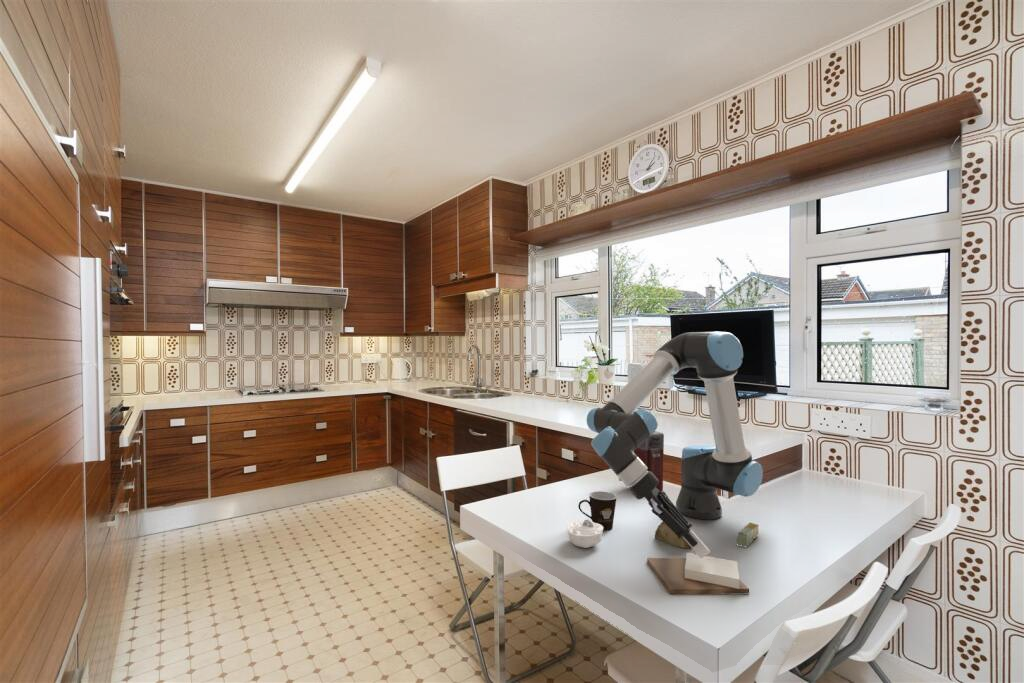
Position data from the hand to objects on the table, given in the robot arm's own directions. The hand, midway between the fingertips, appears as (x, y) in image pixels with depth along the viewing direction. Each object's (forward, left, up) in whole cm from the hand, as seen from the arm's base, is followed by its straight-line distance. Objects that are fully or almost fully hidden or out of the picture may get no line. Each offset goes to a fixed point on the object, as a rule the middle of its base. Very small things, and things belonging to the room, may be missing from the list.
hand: (705, 554), depth 118 cm
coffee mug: (+19, -34, -6) cm, 39 cm away
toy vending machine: (-11, -72, -6) cm, 73 cm away
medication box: (-24, -23, -6) cm, 34 cm away
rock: (-1, -22, -6) cm, 23 cm away
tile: (+4, -2, -4) cm, 6 cm away
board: (+2, -1, -6) cm, 6 cm away
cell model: (+26, -20, -6) cm, 33 cm away
